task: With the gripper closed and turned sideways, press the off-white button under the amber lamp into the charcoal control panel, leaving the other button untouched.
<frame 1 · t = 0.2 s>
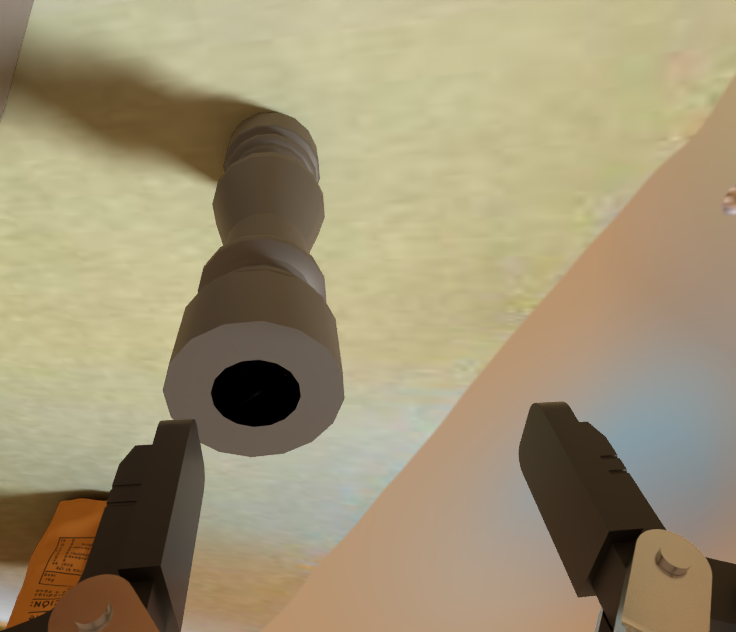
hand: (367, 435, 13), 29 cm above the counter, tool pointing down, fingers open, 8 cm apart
coffee package: (105, 527, 57), on the counter
candle holder: (273, 156, 38), on the counter
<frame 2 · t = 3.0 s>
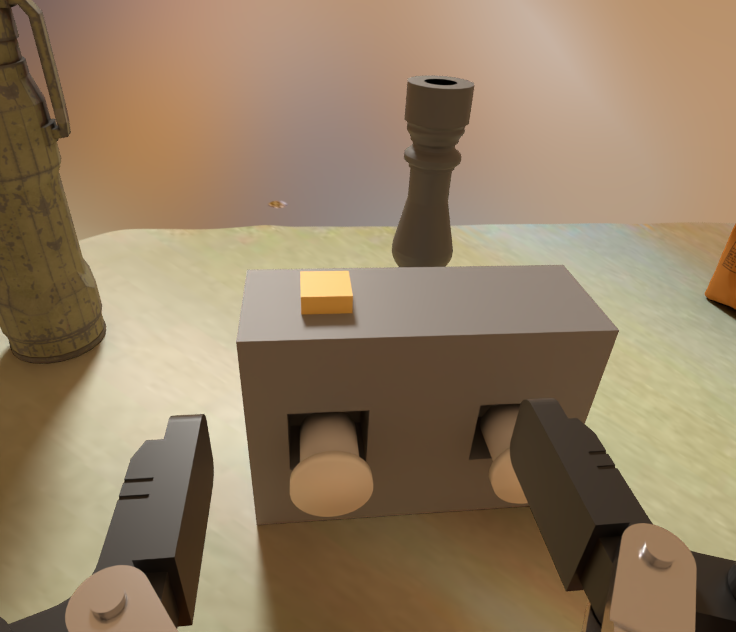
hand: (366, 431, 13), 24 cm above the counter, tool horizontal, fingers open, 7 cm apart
control panel: (401, 470, 43), on the counter
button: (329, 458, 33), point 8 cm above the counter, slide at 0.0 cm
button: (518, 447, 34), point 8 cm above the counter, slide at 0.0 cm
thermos: (59, 338, 55), on the counter
candle holder: (413, 326, 60), on the counter
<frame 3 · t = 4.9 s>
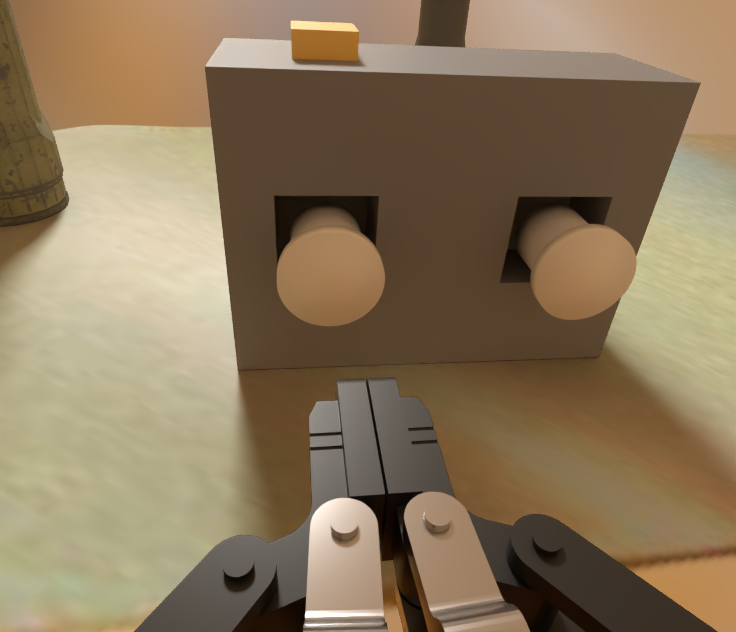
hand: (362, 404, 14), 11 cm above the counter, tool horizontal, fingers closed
control panel: (413, 324, 36), on the counter
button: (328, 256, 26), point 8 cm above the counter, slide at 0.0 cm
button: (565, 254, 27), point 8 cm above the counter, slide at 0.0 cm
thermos: (14, 207, 48), on the counter
candle holder: (421, 206, 53), on the counter
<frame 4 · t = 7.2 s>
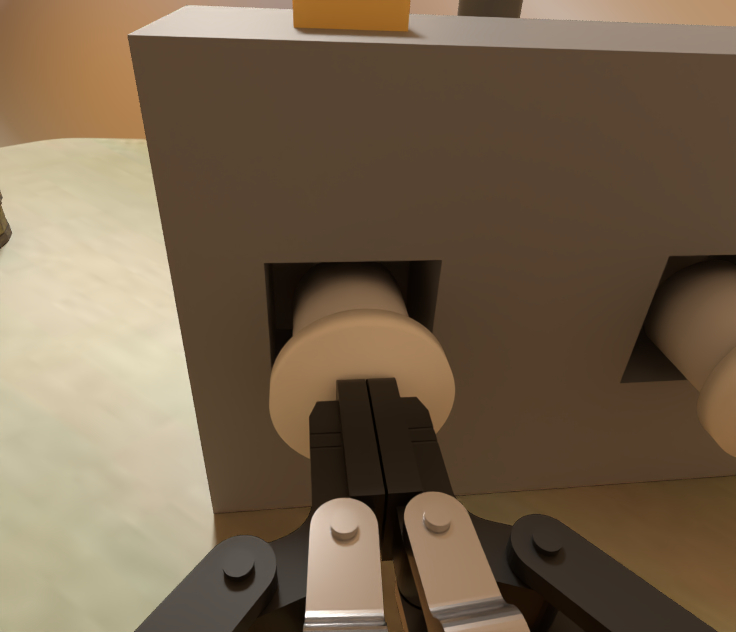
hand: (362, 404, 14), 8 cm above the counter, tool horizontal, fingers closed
control panel: (469, 421, 25), on the counter
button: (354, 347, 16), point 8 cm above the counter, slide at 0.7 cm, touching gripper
candle holder: (456, 236, 42), on the counter
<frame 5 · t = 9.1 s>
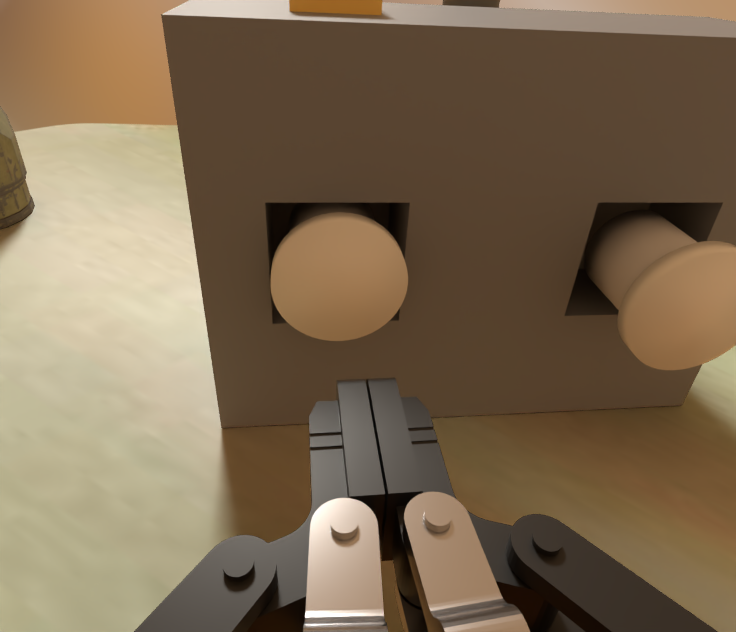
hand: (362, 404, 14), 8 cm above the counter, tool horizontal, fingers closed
control panel: (444, 362, 29), on the counter
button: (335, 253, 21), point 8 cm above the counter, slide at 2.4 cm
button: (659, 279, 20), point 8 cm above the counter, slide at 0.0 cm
candle holder: (442, 213, 46), on the counter
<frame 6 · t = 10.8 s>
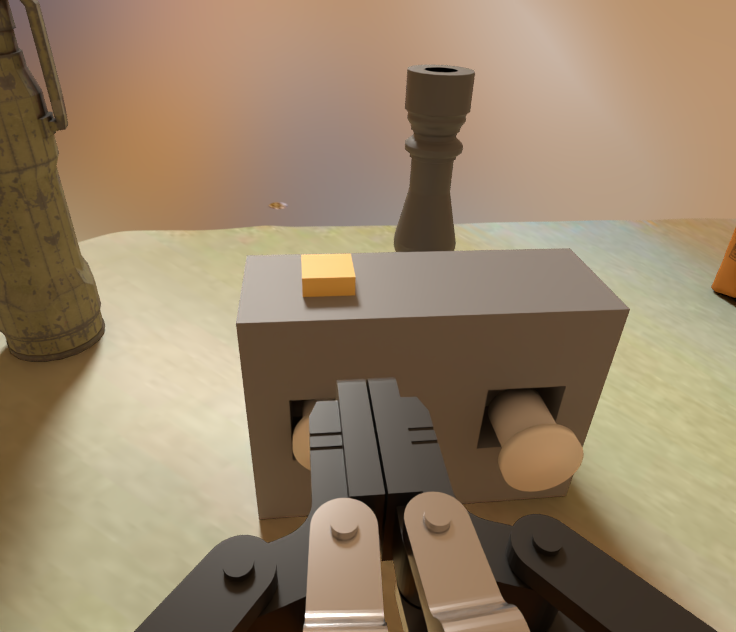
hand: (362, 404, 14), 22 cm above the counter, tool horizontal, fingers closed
control panel: (407, 463, 42), on the counter
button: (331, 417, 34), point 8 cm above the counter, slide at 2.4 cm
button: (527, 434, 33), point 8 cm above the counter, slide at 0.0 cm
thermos: (58, 337, 54), on the counter
candle holder: (416, 321, 59), on the counter
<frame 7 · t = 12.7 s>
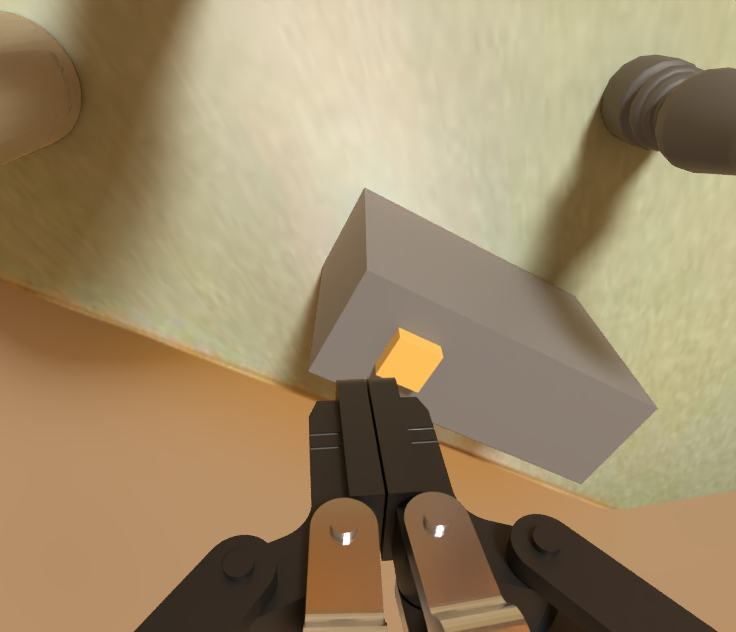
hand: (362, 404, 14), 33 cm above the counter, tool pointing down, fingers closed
control panel: (451, 281, 49), on the counter
candle holder: (640, 98, 42), on the counter
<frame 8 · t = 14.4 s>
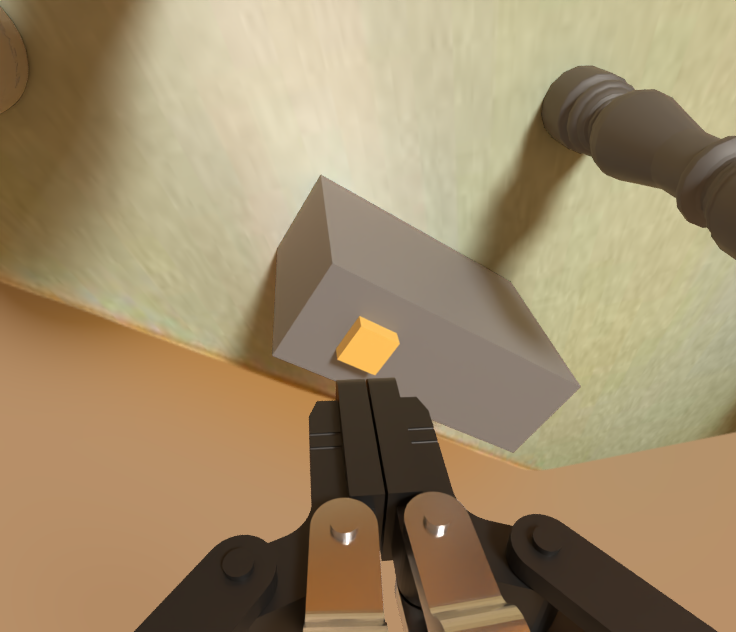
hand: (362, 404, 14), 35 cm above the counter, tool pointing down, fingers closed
control panel: (399, 266, 52), on the counter
candle holder: (576, 104, 46), on the counter
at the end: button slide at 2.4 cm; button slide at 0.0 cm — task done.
